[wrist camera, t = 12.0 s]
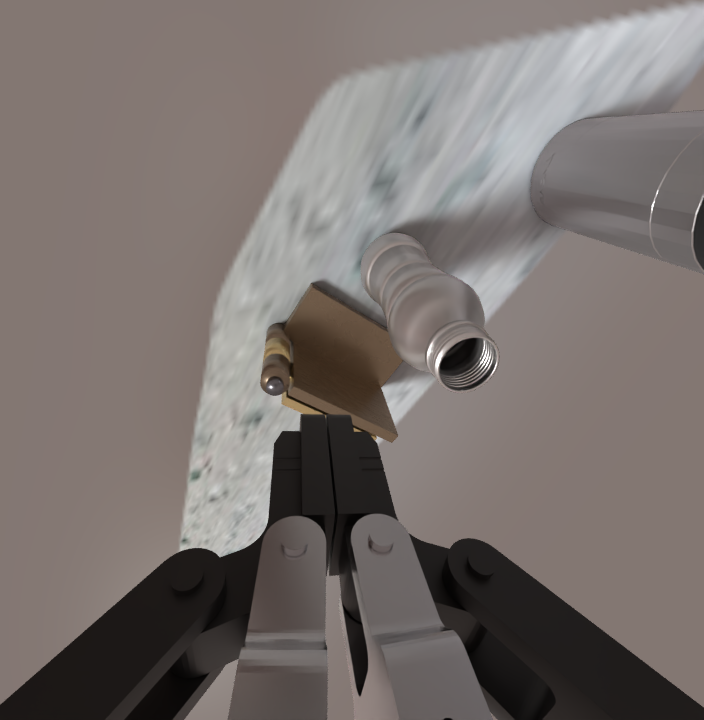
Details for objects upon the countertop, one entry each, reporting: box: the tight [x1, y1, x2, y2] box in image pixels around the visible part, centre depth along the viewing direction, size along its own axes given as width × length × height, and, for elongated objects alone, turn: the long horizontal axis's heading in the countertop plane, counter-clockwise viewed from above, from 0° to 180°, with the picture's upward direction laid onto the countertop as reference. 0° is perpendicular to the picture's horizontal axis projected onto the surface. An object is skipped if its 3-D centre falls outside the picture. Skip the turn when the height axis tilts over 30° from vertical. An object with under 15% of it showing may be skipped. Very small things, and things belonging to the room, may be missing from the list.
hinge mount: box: [260, 283, 403, 443], centre depth 37 cm, size 8×14×10 cm, turn 55°
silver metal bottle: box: [361, 233, 500, 393], centre depth 29 cm, size 6×7×20 cm
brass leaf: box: [263, 338, 377, 440], centre depth 38 cm, size 12×3×9 cm, turn 56°
